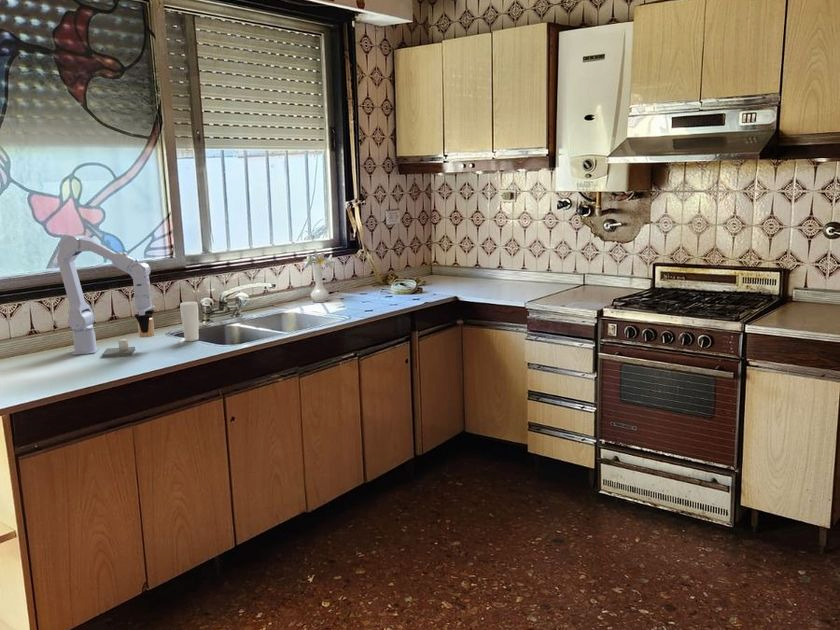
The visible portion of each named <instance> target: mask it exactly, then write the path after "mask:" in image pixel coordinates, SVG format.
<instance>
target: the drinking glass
mask: <svg viewBox="0 0 840 630" xmlns="http://www.w3.org/2000/svg"><path fill="white" fill-rule="evenodd" d="M179 309H180V317H181V318H180V319H181V323H182V328H183V335H184V340H185V341H186V342H194V341H198V340H199V337H200V335H199V304H198V302H197V301H184V302H180V304H179Z"/></svg>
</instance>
